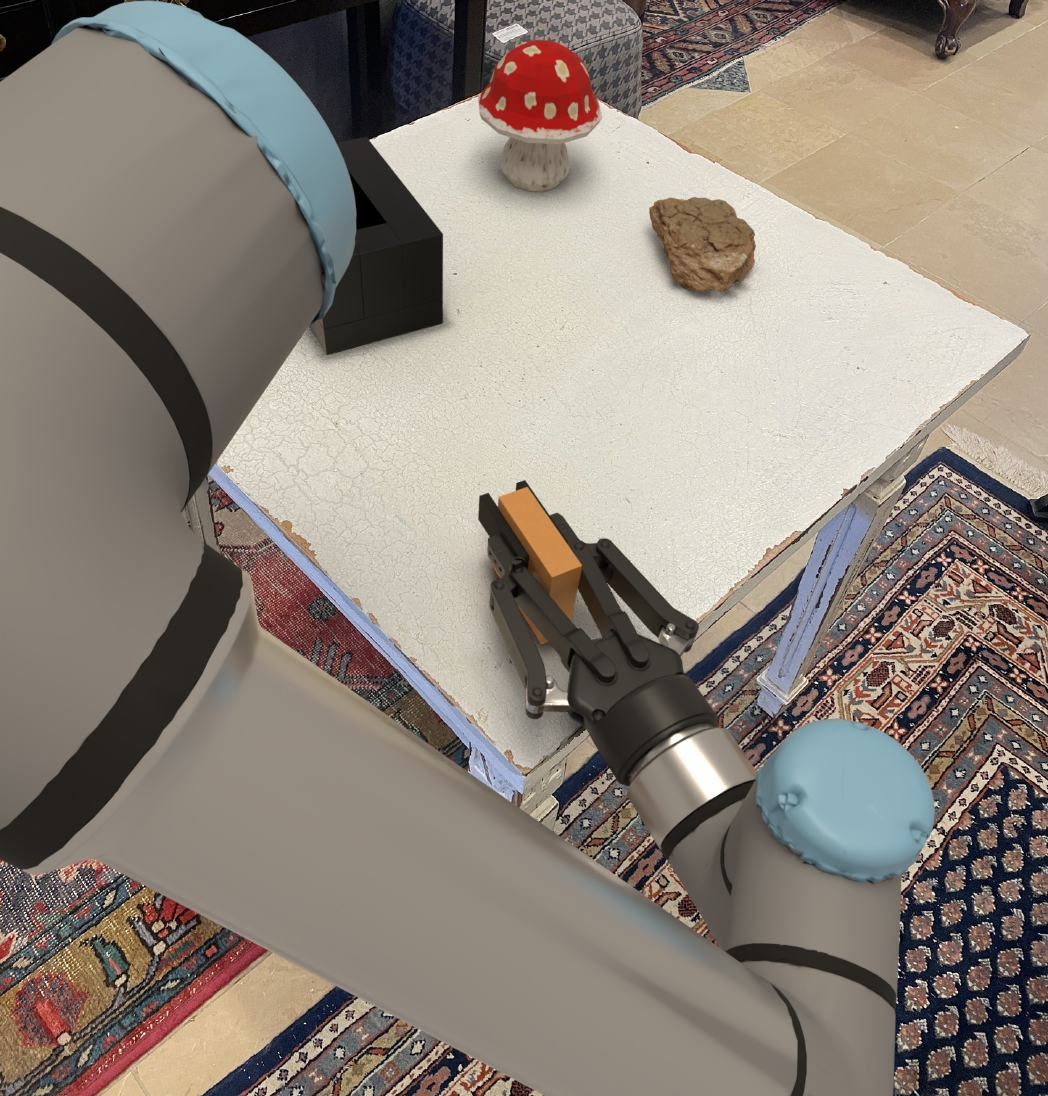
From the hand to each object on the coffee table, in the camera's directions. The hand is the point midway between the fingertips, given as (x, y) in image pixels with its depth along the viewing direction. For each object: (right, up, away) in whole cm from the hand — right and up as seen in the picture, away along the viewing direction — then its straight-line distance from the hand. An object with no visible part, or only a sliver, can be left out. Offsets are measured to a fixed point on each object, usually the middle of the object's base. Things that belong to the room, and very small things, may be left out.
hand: (501, 500), depth 72 cm
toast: (+2, -8, +2) cm, 8 cm away
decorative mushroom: (+3, +39, +40) cm, 56 cm away
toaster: (-16, +23, +25) cm, 37 cm away
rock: (+21, +27, +31) cm, 46 cm away
